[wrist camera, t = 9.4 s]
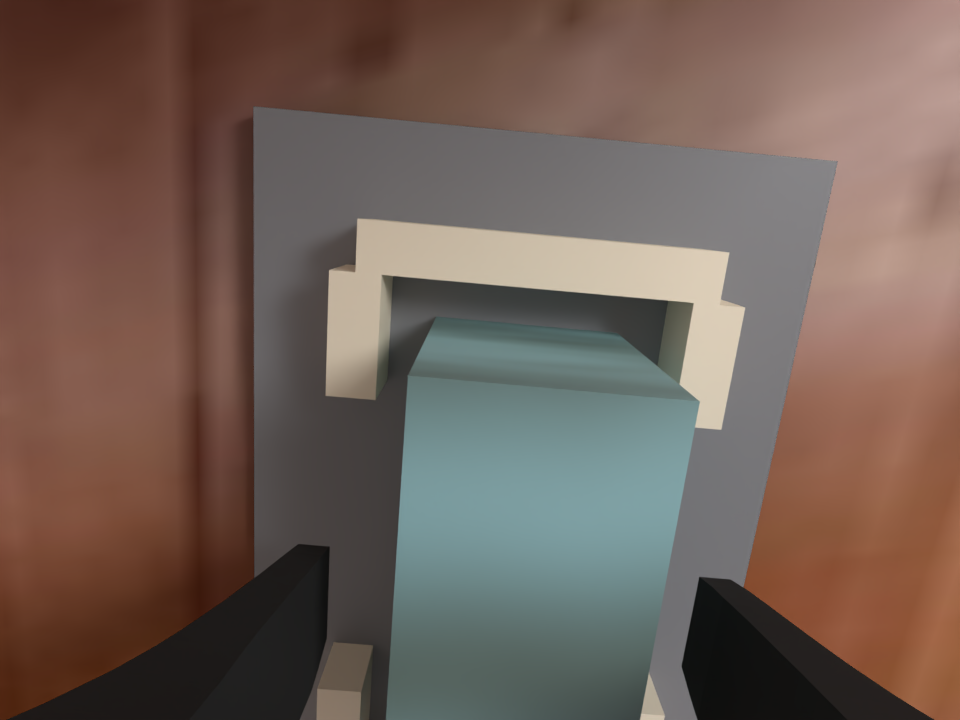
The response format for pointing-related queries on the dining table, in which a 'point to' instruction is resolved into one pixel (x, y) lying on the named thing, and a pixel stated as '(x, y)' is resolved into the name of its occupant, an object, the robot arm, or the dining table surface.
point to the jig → (508, 299)
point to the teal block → (533, 523)
